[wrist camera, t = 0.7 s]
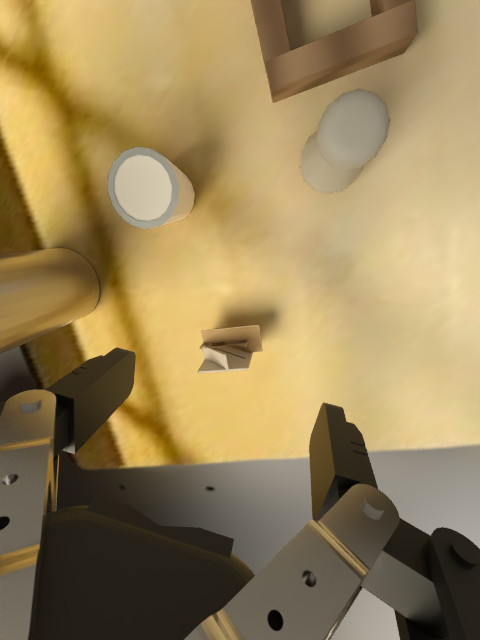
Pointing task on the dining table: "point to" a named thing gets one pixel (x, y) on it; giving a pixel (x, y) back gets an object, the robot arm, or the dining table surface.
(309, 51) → the socket
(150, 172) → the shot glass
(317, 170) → the salt shaker
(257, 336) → the architectural model
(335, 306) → the dining table surface
